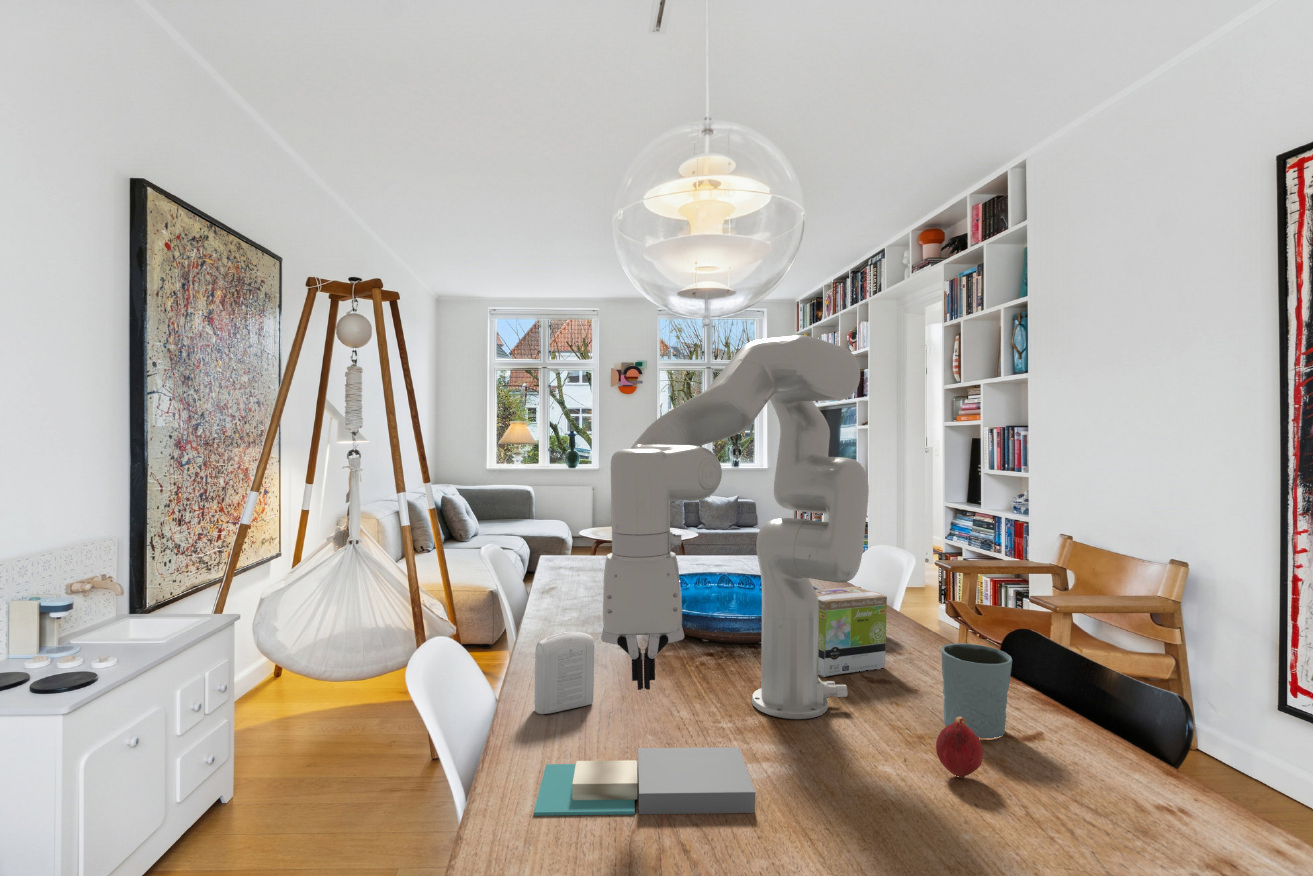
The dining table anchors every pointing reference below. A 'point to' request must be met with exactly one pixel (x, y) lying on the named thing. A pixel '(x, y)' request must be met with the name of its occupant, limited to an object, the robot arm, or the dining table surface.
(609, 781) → the birch tile
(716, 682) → the dining table surface
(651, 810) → the grey flat slab
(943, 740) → the onion
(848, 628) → the tea box
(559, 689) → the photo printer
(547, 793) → the teal mat
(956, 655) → the blue ceramic planter
